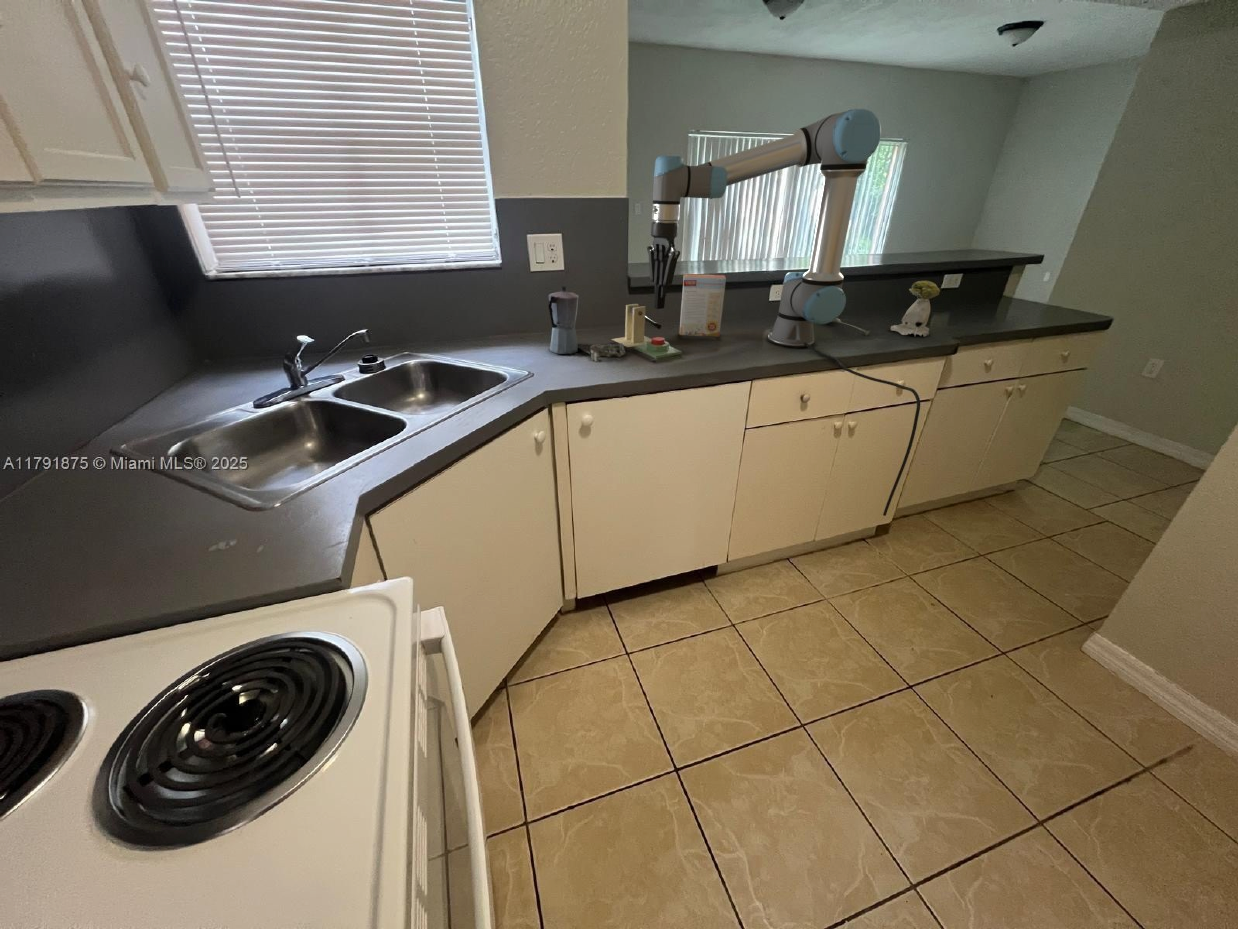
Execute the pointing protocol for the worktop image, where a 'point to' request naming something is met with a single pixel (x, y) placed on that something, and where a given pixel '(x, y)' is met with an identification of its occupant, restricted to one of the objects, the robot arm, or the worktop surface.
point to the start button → (658, 341)
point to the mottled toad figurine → (599, 351)
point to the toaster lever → (648, 320)
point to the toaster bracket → (634, 327)
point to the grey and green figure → (918, 309)
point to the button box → (659, 351)
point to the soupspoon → (850, 325)
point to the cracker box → (702, 304)
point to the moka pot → (563, 321)
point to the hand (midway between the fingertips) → (659, 308)
